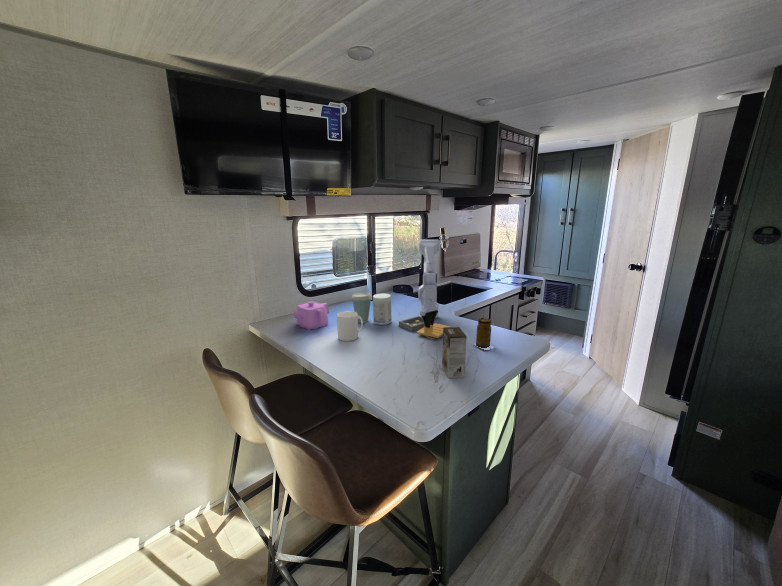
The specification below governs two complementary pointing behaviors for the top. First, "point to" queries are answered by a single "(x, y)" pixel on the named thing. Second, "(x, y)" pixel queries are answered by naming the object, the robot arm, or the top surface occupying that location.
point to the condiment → (483, 333)
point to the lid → (432, 330)
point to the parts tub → (412, 323)
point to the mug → (348, 325)
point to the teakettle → (312, 315)
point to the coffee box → (454, 352)
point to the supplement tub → (382, 309)
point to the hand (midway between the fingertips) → (429, 326)
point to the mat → (431, 337)
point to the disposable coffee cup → (362, 305)
